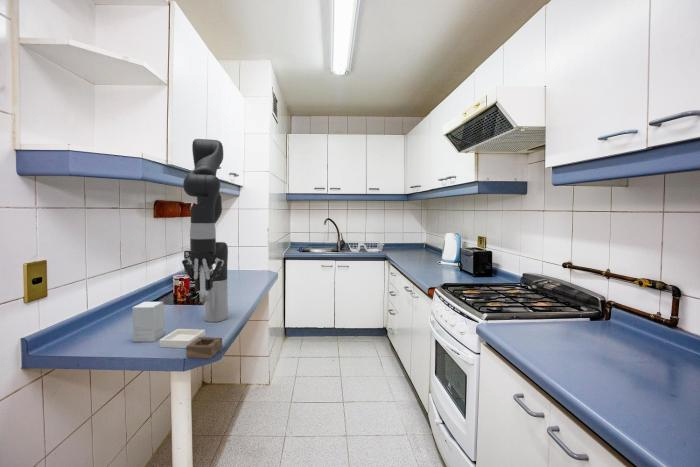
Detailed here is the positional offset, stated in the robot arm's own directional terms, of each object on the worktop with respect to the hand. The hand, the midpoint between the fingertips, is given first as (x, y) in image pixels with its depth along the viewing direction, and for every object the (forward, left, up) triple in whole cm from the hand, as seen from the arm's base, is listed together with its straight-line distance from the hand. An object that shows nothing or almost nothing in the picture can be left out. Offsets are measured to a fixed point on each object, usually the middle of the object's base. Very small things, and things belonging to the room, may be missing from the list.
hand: (203, 289), depth 105 cm
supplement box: (-10, -26, -21) cm, 35 cm away
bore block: (0, 0, -21) cm, 21 cm away
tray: (-8, -12, -21) cm, 25 cm away
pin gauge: (0, 0, -4) cm, 4 cm away
